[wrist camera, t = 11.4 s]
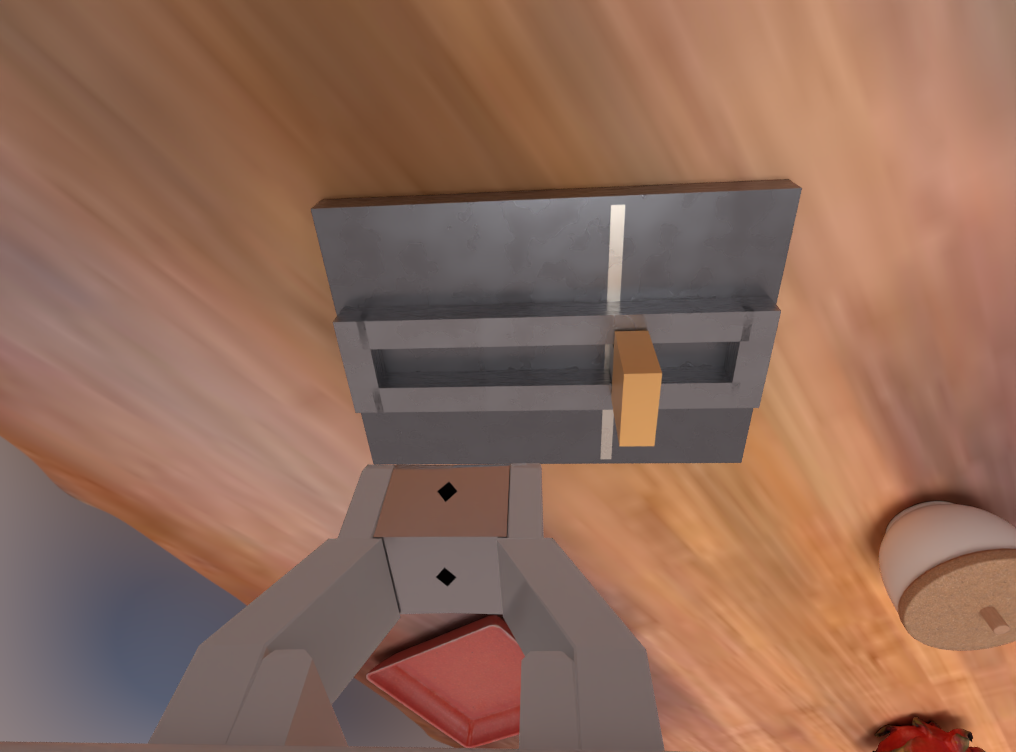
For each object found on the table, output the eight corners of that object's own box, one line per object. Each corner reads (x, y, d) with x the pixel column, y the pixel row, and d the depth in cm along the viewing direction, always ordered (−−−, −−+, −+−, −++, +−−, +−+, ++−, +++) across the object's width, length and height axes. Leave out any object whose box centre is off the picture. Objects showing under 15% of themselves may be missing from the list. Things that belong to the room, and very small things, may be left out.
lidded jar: (973, 567, 49) (1055, 672, 41) (844, 570, 50) (899, 673, 42) (1018, 476, 43) (1123, 578, 35) (871, 482, 44) (941, 582, 37)
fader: (608, 382, 38) (619, 446, 32) (611, 316, 35) (624, 373, 30) (638, 381, 38) (654, 446, 32) (643, 315, 35) (662, 373, 30)
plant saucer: (369, 649, 62) (361, 679, 59) (498, 595, 56) (495, 625, 53) (470, 721, 69) (467, 750, 67) (595, 680, 63) (597, 711, 60)
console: (380, 447, 45) (366, 482, 42) (322, 199, 35) (298, 219, 31) (733, 445, 43) (749, 481, 40) (788, 179, 32) (816, 197, 29)
